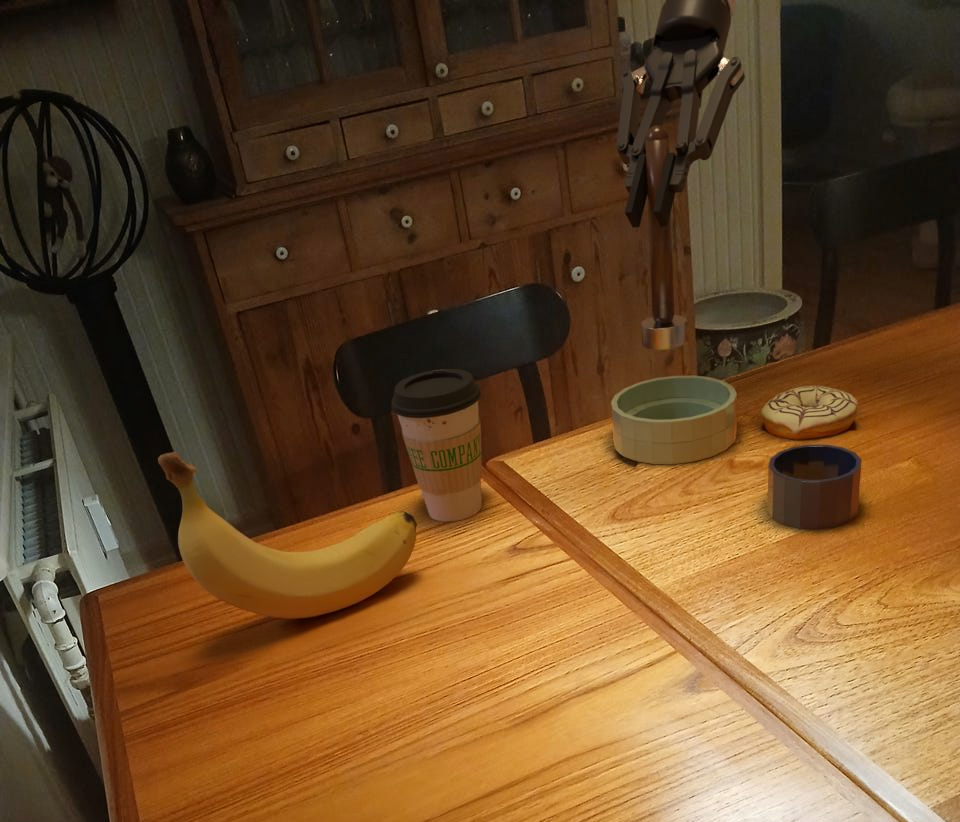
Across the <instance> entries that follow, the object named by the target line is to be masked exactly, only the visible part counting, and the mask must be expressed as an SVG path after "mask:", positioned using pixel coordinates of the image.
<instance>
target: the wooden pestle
mask: <svg viewBox="0 0 960 822" xmlns="http://www.w3.org/2000/svg"><path fill="white" fill-rule="evenodd" d="M645 148H646V172H647V216H648V239H649V262H650V265H649V266H650V285H651V287H650V288H651V307H652V308H651V309H652V316H651V317H649V318H645V319H644V320H642V322H641V344H642V347H643V348H645V349H648V350H653V351H664V350H665V351H666V350H673V349H675V348H676V349H677V348H679V347H682V346H683V345H685V344H686V343H687V341H688V335H687V333H688V332H687V331H688V330H687V318H686V317H684V316H682V315H678V314H675V296H674V295H675V293H674V291H675V289H674V288H675V287H674V262H673V261H674V258H673V256H674V255H673V229H672V225H673V224H672V212H671V213H670V217H669V221H668V225H667V226H664V227H660V225H659V223H658V221H657V219H656V217H655V215H654V213H653V209H654V205H655V201H656V197H657V193H658V189H659V185H660V181H661V177H662V173H663V169H664V165H665V160H666V156H667V153H670V135H669V131H668V130H667V128H666V127H665V126H663V125H662V126H661V125H655V126H653V127H651V128H650V129H649V130H648V131H647V133H646V136H645Z"/></svg>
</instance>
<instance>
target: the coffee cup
mask: <svg viewBox="0 0 960 822" xmlns="http://www.w3.org/2000/svg"><path fill="white" fill-rule="evenodd" d="M393 391H394V392H393V397H392V399H391V408H390V409H391V411H392V412H393V413H394V414H396V415H397V418H398V422H399V424H400V427H401V435H402V439H403V442H404V444H405V447H406V451H407V453H408V457H409V460H410V462H411V466H412V470H413V472H414V476H415V478H416V481H417V485H418V488H419V489H420V490H421V494H422V497H423V500H424V503H425V507H426V510H427V512H428V515H429V517H430V518H431V519H433V520H435V521H439V522H446V523H447V522H458V521H463V520H465V519H469V518H471V517H473V516H475V515H477V513H479V512H480V510H481V509H482V505H483V504H482V503H483V501H482V478H483V463H482V431H481V430H482V428H481V418H480V416H479V400H480V399H481V398H482V390H481V387H480V385H479V384H478V383H477V382H475V379H474V376H473V374H472V373H470V372H469V371H467V370H463V369H457V368H442V369H441V368H439V369H432V370H426V371H423V372H419V373H416V374H412V375H410V376H408V377H406V378H404V379H402V380H401V381H399V382H398V383H397V384H396V385H395V386H394V390H393Z"/></svg>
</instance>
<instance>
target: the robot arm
mask: <svg viewBox="0 0 960 822" xmlns="http://www.w3.org/2000/svg"><path fill="white" fill-rule="evenodd" d="M736 3H737V0H662V7H661V9H660V13H659V17H658V21H657V25H656V28H655V32H654V37H653V45H652V50H651V52H650V54H649V55H648V56H647V58H646V59H645V61H644V65H643V66H641V67H639V68H637V69H635V70H633V71H632V70H631V69H630V68H627V67H625V68H624V69H622V70H621V72H620V74H619V77H620V80H621V85H622V88H623V90H622V98H621V105H620V113H619V119H618V128H617V136H616V143H615V149H616V151H617V153H618V155H619V157H620V159H621V162H622V163H623V164H624V165H626V166H627V165H628V168H627V172H626V176H625V178H624V179H625V180H624V186H625V188H626V191H627V193H628V198H627V202H626V205H625V210H624V214H625V216H626V218H627V220H628V222H629V224H630V226H631V227H632V228H640V225H641V222H642V217H643V214H644V210H645V206H646V202H647V199H648V195H647V172H646V148H645V136H646V133H647V131H648V130H649V129H650V128H651V127H653V126H655V125H661V126H663V124H664V122H665V119H666V117H667V114H668V112H669V113H670V112H671V109H672V108H673V104H674V102H675V101H676V100H677V101H678V100H680V109H679V117H678V126H677V135H676V141H675V142H676V143H675V142H674V143H673V147H674V149H675V151H676V153H675V152H669V153H667V156H666V160H665V165H664V169H663V173H662V177H661V181H660V185H659V189H658V193H657V197H656V201H655V205H654V209H653V213H654V215H655V217H656V219H657V221H658V223H659V225H660V227H664V226H667V225H668V221H669V217H670V213H671V214H672V209H673V204H674V200H675V195H676V194H677V193H678V194H679V193H683V191H684V190H685V188H686V185H687V181H688V176H689V172H690V168H691V165H693V163H694V162H695V161H698V160H701V161H708V160H709V159H710V158H711V156H712V153H713V151H714V149H715V145H716V144H717V140H718V138H719V134H720V132H721V129H722V127H723V124H724V121H725V118H726V116H727V113H728V110H729V107H730V106H731V105H730V104H731V101H732V99H733V96H734V94H735V93H736V92H737V90H738V89H739V87H740V86H741V85H742V83H743V82H744V81H745V79H746V75H745V72H744V68H743V65H742V62H741V58H740V57H739V56H733V57H731V58H730V59H728V58H727V57H725V55H724V52H725V50H726V44H727V40H728V37H729V32H730V29H731V26H732V17H733V15H734V12H735V8H736ZM715 78H716V80H715ZM647 80H649V82H650V83H651V87H650V91H649V92H650V97H649V99H648V102H647V105H646V108H645V110H644V112H643V114H642V115H643V116H642V118H641V121H640V112H641V104H642V99H641V95H643V94H644V90H645V84H646V82H647ZM713 80H715V82H714V85H713V87H712V90H711V93H710V96H709V98H708V101H707V104H706V107H705V110H704V112H703V116H702V117H701V120H700V123H699V126H698V122H699V113H700V109H701V108H702V102H703V101H702V100H703V93H704V90H705V89H706V88H707V87H708V86H709V85H710V84H711V82H712V81H713ZM639 121H640V124H639Z"/></svg>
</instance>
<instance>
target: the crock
mask: <svg viewBox="0 0 960 822" xmlns="http://www.w3.org/2000/svg"><path fill="white" fill-rule="evenodd" d="M862 462H863V460H862V458H861V457H860V456H859V454H857V453H856V452H855V451H853V450H850V449H847V448H845V447H842V446H837V445H831V444H803V445H797V446H791V447H788V448H785V449H784V450H780V451H778V452H777V453H776V454H774V455H773V456H771V457H770V459H769V462H768V468H767V469H768V470H767V511H766V512H767V514H768V515H769V517H770V518H771V519H772V521H774V522H776V523H778V524H780V525H782V526H784V527H787V528H792V529H796V530H805V531H806V530H808V531H809V530H810V531H820V530H821V531H822V530H827V529H828V530H829V529H833V528H838V527H840V526H843V525H846V524H847V523H850V522H851V521H852V520H853V519H855V517H856V516H858V511H859V501H860V500H859V499H860V486H861V485H860V484H861V476H862V475H861V473H862Z"/></svg>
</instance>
